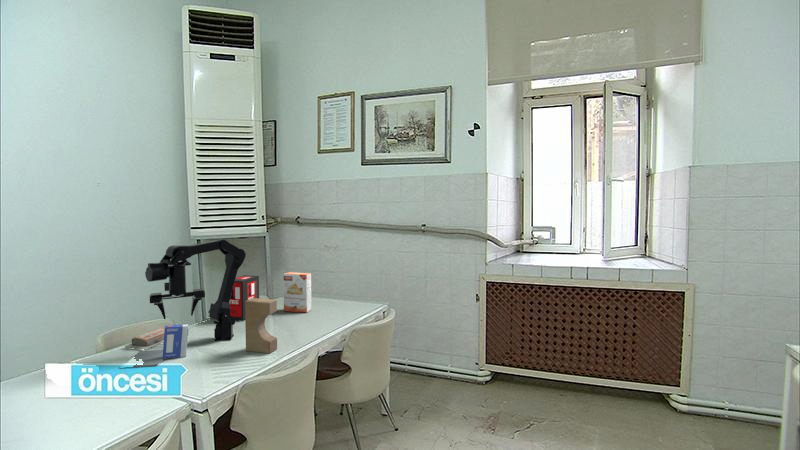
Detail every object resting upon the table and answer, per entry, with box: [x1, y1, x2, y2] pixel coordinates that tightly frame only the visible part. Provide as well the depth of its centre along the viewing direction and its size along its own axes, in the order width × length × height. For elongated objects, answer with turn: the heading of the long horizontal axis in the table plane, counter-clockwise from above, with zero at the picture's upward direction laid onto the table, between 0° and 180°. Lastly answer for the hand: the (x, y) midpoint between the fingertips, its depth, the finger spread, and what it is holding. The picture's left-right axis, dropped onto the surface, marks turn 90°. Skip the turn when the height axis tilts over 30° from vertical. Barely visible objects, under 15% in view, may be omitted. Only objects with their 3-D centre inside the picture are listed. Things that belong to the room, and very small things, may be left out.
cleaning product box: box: [230, 274, 260, 322], centre depth 208 cm, size 16×9×20 cm, turn 172°
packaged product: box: [124, 326, 165, 351], centre depth 167 cm, size 18×5×10 cm
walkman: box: [162, 323, 190, 359], centre depth 150 cm, size 8×3×12 cm, turn 118°
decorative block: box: [244, 297, 278, 354], centre depth 158 cm, size 11×6×20 cm, turn 73°
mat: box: [133, 349, 166, 368], centre depth 149 cm, size 12×16×1 cm
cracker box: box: [283, 271, 312, 313], centre depth 219 cm, size 14×6×21 cm, turn 76°
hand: (178, 317), depth 157 cm, fingers open, 9 cm apart
